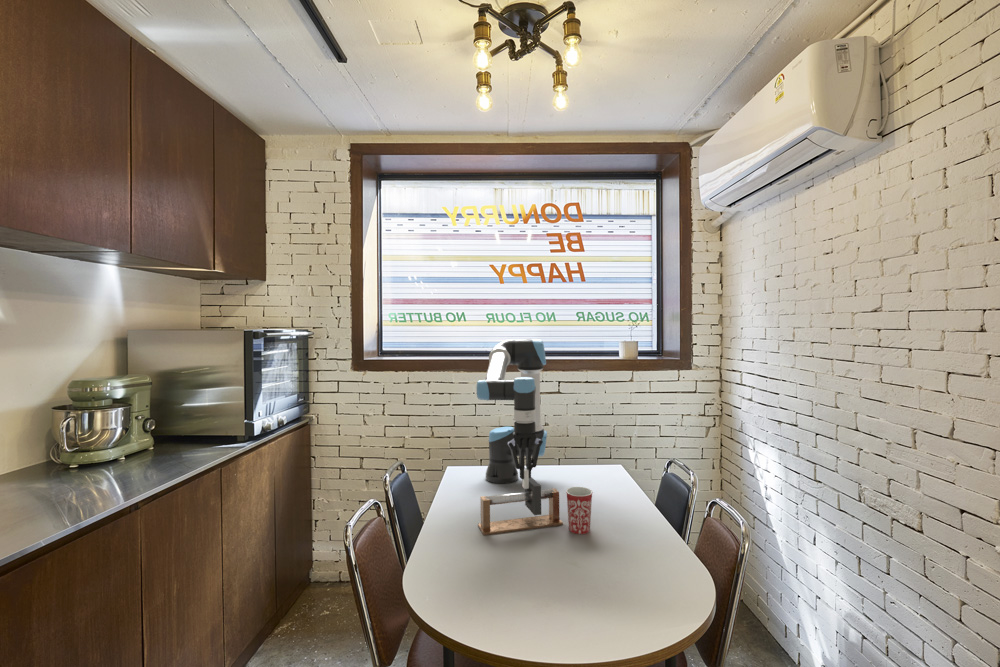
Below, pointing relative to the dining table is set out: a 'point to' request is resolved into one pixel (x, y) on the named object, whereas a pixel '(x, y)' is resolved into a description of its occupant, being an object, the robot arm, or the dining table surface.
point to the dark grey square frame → (534, 497)
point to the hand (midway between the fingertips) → (525, 487)
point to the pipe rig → (519, 523)
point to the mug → (579, 509)
